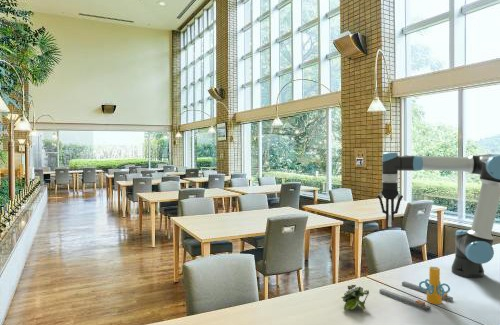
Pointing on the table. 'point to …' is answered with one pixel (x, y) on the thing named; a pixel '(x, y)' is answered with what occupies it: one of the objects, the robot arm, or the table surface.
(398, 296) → the guide track
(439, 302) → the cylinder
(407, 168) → the robot arm
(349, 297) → the passion flower
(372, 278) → the table surface
